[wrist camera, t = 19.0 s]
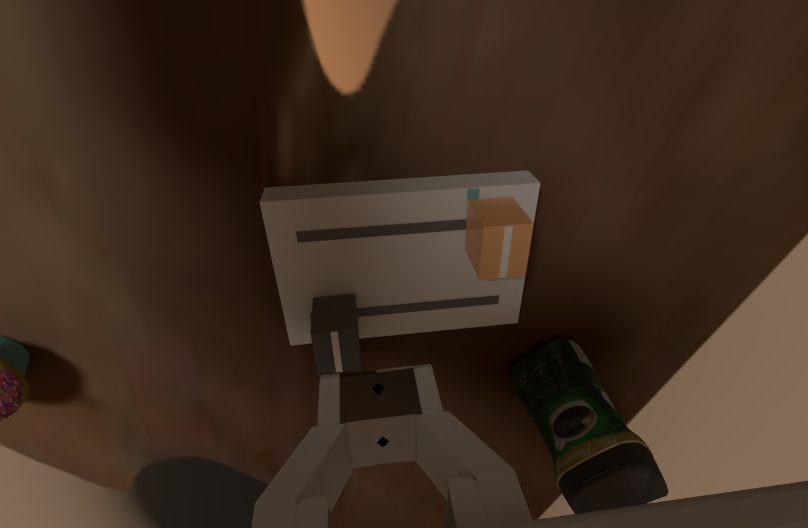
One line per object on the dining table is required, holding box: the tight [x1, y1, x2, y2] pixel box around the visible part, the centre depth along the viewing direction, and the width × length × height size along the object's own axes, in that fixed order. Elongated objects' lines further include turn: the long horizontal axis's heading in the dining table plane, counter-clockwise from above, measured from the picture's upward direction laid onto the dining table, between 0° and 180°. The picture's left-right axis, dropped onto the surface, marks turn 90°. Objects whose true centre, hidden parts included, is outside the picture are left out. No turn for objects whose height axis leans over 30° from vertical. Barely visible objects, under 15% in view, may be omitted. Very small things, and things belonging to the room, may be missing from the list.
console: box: [260, 171, 540, 345], centre depth 43 cm, size 24×16×3 cm, turn 91°
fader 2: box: [465, 197, 534, 280], centre depth 38 cm, size 4×5×5 cm
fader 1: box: [310, 294, 361, 374], centre depth 41 cm, size 4×5×5 cm
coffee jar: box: [509, 338, 668, 514], centre depth 48 cm, size 10×8×19 cm
